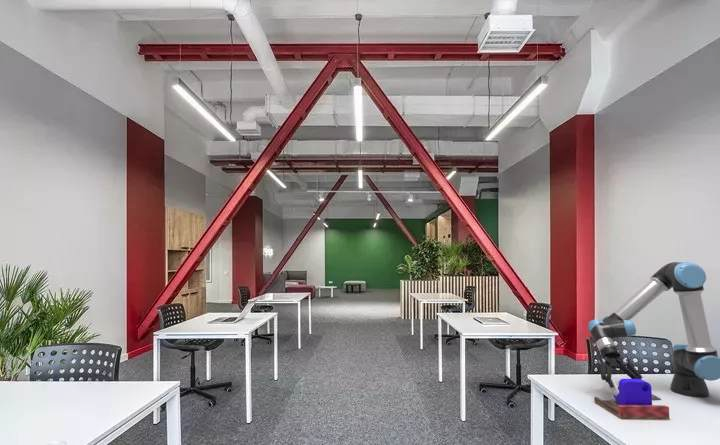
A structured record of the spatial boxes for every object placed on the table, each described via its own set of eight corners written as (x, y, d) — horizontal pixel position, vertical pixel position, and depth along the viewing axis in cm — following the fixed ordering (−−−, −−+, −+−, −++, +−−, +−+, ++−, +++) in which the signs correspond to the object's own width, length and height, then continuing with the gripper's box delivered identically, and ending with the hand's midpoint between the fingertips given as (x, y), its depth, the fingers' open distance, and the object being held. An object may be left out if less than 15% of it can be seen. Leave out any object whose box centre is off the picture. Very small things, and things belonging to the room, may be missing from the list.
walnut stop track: (637, 402, 196) (637, 391, 196) (669, 419, 176) (668, 407, 176) (594, 402, 196) (594, 391, 196) (620, 419, 176) (620, 406, 176)
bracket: (652, 411, 179) (651, 382, 180) (625, 410, 180) (624, 381, 181) (629, 396, 197) (628, 370, 198) (604, 396, 198) (603, 370, 198)
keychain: (648, 401, 199) (648, 397, 199) (616, 388, 217) (616, 384, 218) (662, 400, 200) (662, 396, 200) (630, 388, 219) (630, 384, 219)
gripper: (628, 354, 205) (652, 398, 188) (581, 353, 205) (600, 398, 188) (635, 345, 200) (660, 390, 183) (586, 344, 200) (607, 390, 183)
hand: (630, 394), depth 186 cm, fingers closed on bracket, 10 cm apart
